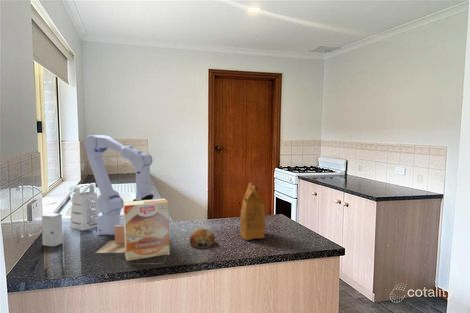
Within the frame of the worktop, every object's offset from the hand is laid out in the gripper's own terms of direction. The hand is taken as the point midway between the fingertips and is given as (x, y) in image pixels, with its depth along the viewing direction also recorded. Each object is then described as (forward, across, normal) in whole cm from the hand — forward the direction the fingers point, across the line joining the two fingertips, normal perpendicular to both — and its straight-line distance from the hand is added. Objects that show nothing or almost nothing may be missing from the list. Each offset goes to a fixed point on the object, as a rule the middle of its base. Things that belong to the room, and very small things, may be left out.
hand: (144, 213), depth 137 cm
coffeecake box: (+10, -21, -7) cm, 24 cm away
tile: (+9, -9, +6) cm, 14 cm away
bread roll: (+10, -10, -26) cm, 29 cm away
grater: (+10, +18, +33) cm, 39 cm away
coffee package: (+10, -1, -46) cm, 47 cm away
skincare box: (+10, -8, +34) cm, 37 cm away
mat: (+10, -12, +6) cm, 17 cm away
